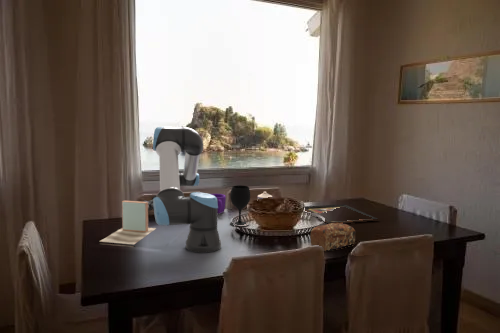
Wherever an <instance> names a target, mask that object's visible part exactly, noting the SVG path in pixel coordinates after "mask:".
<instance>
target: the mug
mask: <svg viewBox="0 0 500 333" xmlns="http://www.w3.org/2000/svg"><path fill="white" fill-rule="evenodd" d="M210 194H211V195H214V196H215V197H216V198H217V202H218V212H217V215H219V214H222V213H224V212H225V209H226V199H227V197H226V195H225V194H223V193H210Z"/></svg>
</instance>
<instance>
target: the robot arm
mask: <svg viewBox="0 0 500 333" xmlns="http://www.w3.org/2000/svg"><path fill="white" fill-rule="evenodd" d="M203 141H204V140H203V138H202V137H201V135H200V134H199V132H197V131H196V130H195V129H193V128H191V127H187V126H184V127H183V126H182V127H180V126H157V127H155V129H154V131H153V138H152V150H153V151H155V152H156V154H157V155H158V157H159V192H158V193H157V194H156V195H154V196H152V198H151V200H148V201H147V200H146V199H145V200H143V202H148V212H150V211H153V213H154V218H155V223H156V224H157V225H158V226H167V227H169V226H174V225H175V226H176V225H178V226H180V225H189V232H188V234H187V239H186V241H185V249H186V250H188V251H190V252H193V253H199V254H202V253H212V252H217V251H218V250H220V249H221V248H222V240H221V239H220V234H219V231H218V214H217V212H218V202H217V198H216V197H215V196H214V195H211V194H212V193H207V192H200V191H198V192H197V191H195V192H190V194H189V196H185V194H184V191H182V190H181V187H196V186H199V185H200V174H199V173H198V169H199V163H200V158H201V154H202V153H203V151H204V142H203ZM181 152H185V153H184V154H185V156H184V164H183V172H181V173H180V169H179V165H180V164H179V155H180V154H181Z"/></svg>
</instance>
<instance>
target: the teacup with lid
mask: <svg viewBox="0 0 500 333" xmlns="http://www.w3.org/2000/svg"><path fill="white" fill-rule="evenodd" d="M268 197H272V198H273V195H271V194H269V193H267V191H263V193H261V194H258V195H257V200H258V199H263V198H268Z"/></svg>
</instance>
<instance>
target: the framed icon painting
mask: <svg viewBox="0 0 500 333" xmlns="http://www.w3.org/2000/svg"><path fill="white" fill-rule="evenodd" d="M340 207H346V208H348V209H351V210H353V211H356V212H358V213H361V214H363V215H366V216H369V217H372V218H371V219H359V220H347V221H328V220H326V219H325V222H327V223H329V224H331V223H343V222H353V221H363V220H373V219H378V218H377V217H374V216H372V215H370V214H368V213H366V212H363V211H361V210H359V209H357V208H354V207H351V206H350V205H347V204H326V205H324V204H323V205H307V206H305V211H307V212H311V213H319V214H321V213H324V212H326V213H327V211H333V210H334V209H336V208H340ZM305 211H304V212H305ZM325 222H324V223H325Z"/></svg>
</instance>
